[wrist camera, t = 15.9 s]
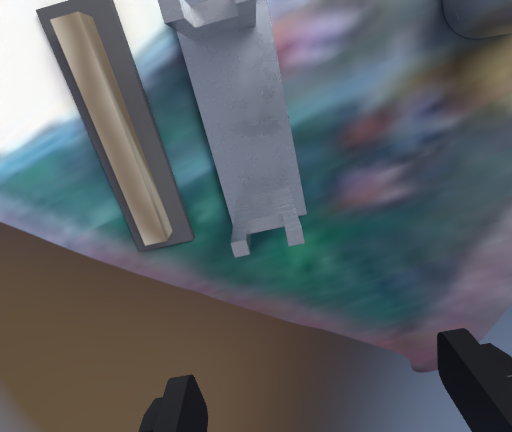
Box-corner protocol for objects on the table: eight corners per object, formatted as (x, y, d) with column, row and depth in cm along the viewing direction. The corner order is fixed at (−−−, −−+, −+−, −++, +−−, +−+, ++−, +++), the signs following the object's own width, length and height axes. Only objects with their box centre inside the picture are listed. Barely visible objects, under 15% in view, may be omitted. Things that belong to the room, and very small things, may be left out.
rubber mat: (109, -9, 34) (106, -11, 33) (194, 236, 46) (193, 240, 45) (41, 11, 35) (35, 10, 34) (141, 248, 46) (139, 251, 45)
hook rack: (261, -23, 34) (265, -86, 21) (305, 209, 44) (325, 263, 31) (171, 3, 35) (120, -42, 22) (234, 225, 45) (226, 283, 32)
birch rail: (92, 17, 34) (78, 11, 31) (172, 230, 44) (166, 240, 41) (66, 24, 34) (49, 19, 32) (151, 235, 44) (145, 245, 42)
